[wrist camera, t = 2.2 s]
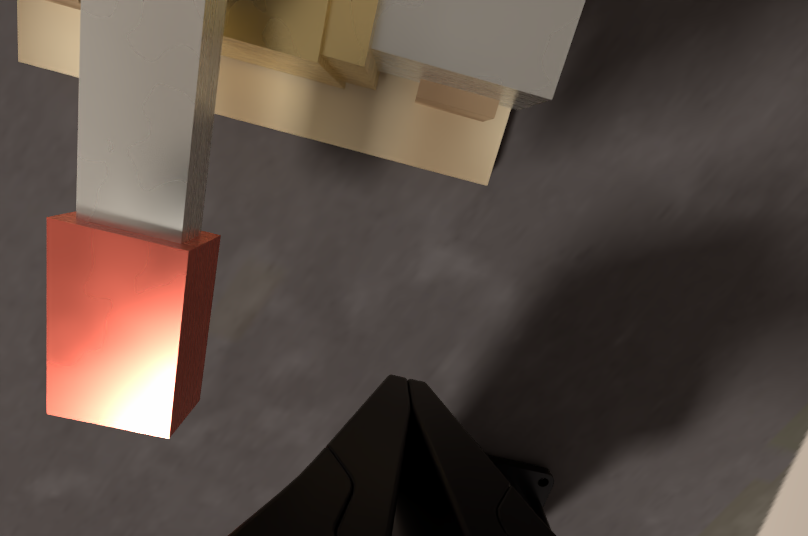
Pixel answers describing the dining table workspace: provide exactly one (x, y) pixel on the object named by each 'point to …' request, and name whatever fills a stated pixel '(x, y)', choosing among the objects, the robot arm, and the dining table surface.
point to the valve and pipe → (411, 42)
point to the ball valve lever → (136, 219)
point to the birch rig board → (315, 102)
